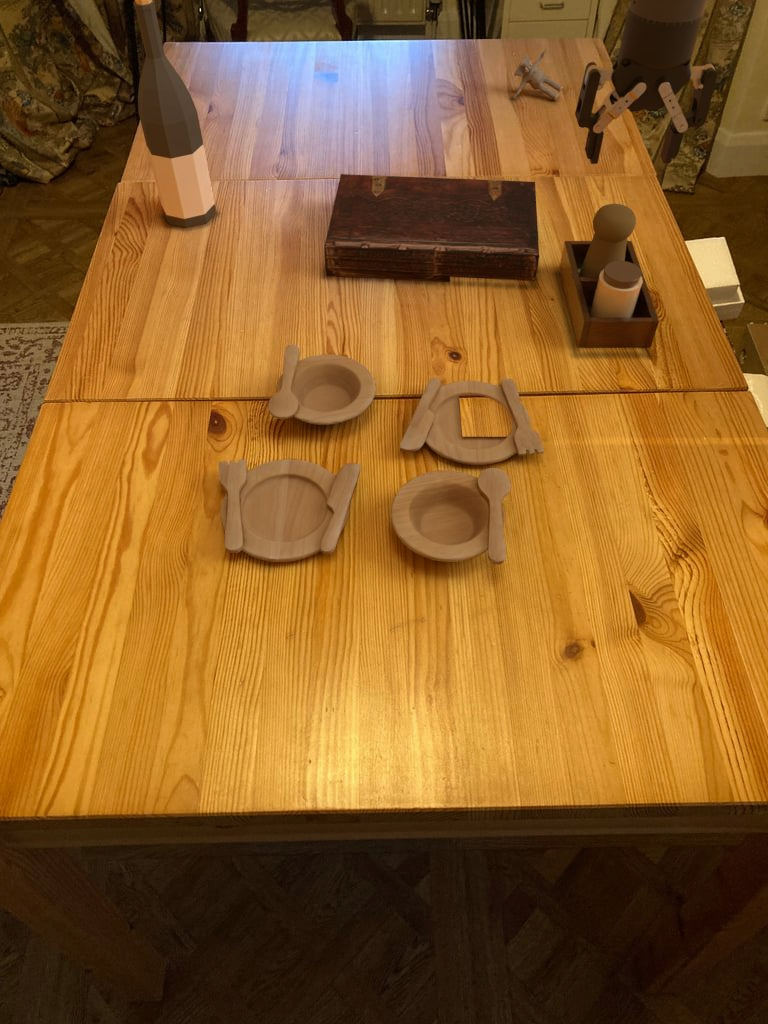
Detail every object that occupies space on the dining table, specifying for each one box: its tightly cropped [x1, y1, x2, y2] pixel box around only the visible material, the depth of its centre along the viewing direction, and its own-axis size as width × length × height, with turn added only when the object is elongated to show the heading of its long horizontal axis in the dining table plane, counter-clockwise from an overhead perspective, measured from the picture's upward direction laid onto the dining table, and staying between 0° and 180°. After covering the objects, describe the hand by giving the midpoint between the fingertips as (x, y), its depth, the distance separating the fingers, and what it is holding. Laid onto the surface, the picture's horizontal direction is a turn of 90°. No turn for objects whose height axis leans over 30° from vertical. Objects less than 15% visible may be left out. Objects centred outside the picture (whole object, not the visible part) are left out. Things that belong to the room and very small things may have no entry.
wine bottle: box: [133, 0, 216, 229], centre depth 106 cm, size 8×8×30 cm
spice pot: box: [589, 261, 643, 318], centre depth 96 cm, size 5×5×8 cm
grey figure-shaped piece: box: [512, 48, 564, 101], centre depth 141 cm, size 10×6×9 cm
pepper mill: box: [579, 203, 637, 277], centre depth 100 cm, size 6×6×11 cm
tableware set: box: [218, 344, 545, 565], centre depth 84 cm, size 35×29×4 cm
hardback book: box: [324, 173, 540, 282], centre depth 111 cm, size 29×19×5 cm, turn 85°
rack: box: [559, 240, 660, 349], centre depth 101 cm, size 9×17×5 cm, turn 0°
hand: (629, 160), depth 91 cm, fingers open, 8 cm apart
